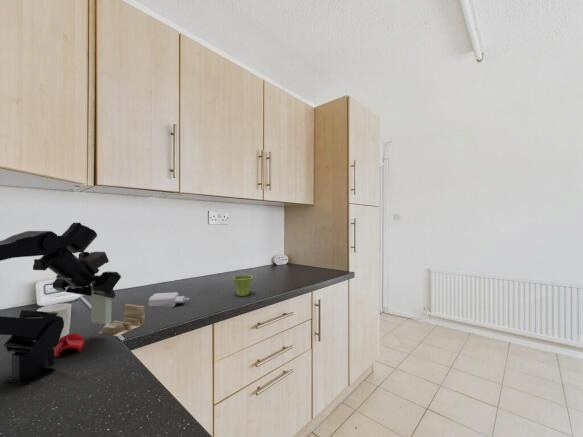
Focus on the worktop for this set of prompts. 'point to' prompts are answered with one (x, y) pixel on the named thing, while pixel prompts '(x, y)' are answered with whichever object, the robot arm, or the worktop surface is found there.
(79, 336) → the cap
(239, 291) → the plant pot
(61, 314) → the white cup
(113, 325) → the offcut top
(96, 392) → the worktop surface
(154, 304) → the white dispenser bottle
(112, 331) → the offcut bottom
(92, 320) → the grey-green flat block
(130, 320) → the offcut rack
